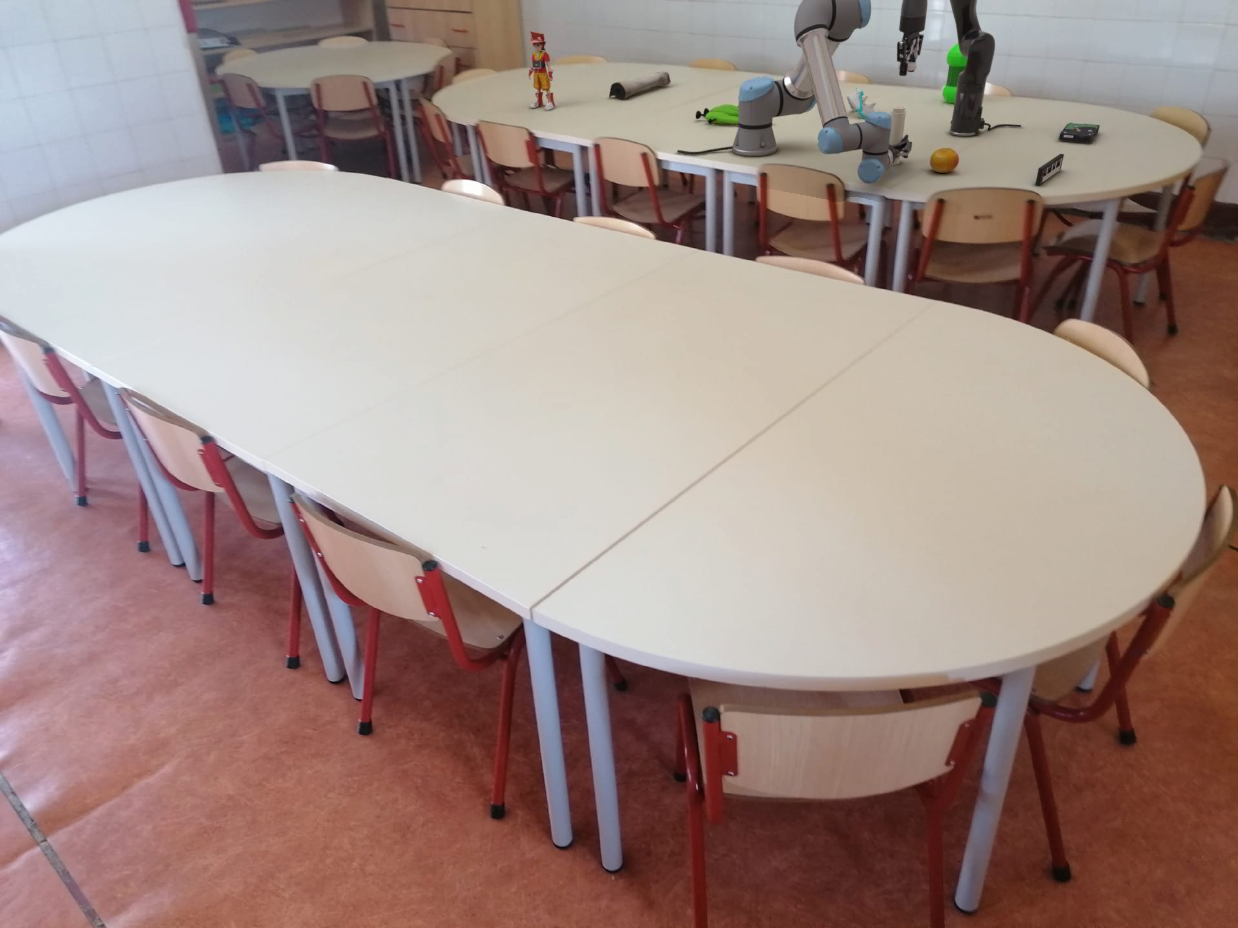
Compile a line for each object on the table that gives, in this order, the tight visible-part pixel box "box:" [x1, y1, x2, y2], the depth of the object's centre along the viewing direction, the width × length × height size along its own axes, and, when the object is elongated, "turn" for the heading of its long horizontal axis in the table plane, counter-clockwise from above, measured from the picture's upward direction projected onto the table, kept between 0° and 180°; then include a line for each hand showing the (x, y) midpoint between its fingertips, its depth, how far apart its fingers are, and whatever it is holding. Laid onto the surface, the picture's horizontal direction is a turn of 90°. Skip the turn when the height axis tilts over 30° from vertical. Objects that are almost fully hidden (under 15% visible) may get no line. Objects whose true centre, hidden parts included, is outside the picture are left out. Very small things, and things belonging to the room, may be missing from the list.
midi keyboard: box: [1035, 153, 1065, 186], centre depth 273 cm, size 18×1×5 cm, turn 138°
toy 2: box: [695, 103, 739, 125], centre depth 347 cm, size 28×5×30 cm
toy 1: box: [527, 31, 556, 111], centre depth 374 cm, size 12×9×30 cm
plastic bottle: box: [942, 42, 967, 104], centre depth 348 cm, size 10×10×25 cm
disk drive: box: [1058, 122, 1101, 144], centre depth 307 cm, size 10×3×15 cm
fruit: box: [929, 147, 960, 174], centre depth 283 cm, size 8×8×8 cm
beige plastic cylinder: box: [889, 105, 907, 166], centre depth 290 cm, size 4×4×17 cm
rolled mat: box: [608, 71, 672, 101], centre depth 395 cm, size 30×9×10 cm
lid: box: [898, 62, 918, 72], centre depth 279 cm, size 5×5×2 cm
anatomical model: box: [846, 87, 877, 119], centre depth 344 cm, size 15×10×10 cm
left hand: (898, 138), depth 296 cm, fingers closed on beige plastic cylinder, 4 cm apart
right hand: (906, 73), depth 280 cm, fingers closed on lid, 5 cm apart
